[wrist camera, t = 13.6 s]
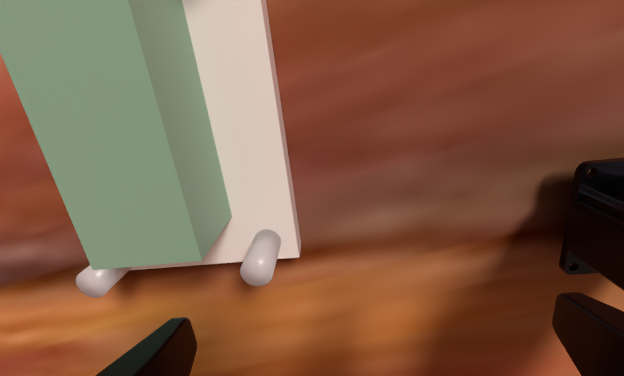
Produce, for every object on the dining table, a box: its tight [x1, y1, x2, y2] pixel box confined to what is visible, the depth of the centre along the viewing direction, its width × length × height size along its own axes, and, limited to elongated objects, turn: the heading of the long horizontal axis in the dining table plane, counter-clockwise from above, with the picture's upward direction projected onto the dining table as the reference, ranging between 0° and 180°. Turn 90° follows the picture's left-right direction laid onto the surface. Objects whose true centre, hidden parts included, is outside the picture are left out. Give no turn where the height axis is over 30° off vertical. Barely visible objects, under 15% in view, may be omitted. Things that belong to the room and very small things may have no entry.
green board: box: [0, 0, 232, 270], centre depth 14 cm, size 5×12×4 cm, turn 7°
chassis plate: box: [76, 0, 301, 298], centre depth 15 cm, size 12×18×4 cm, turn 7°
